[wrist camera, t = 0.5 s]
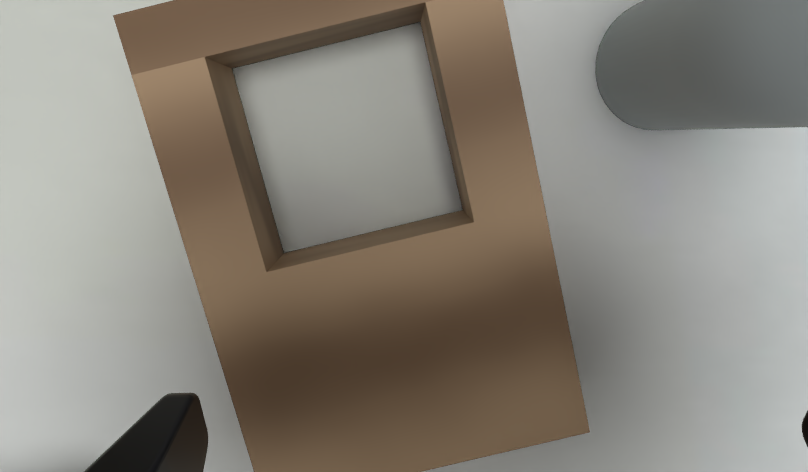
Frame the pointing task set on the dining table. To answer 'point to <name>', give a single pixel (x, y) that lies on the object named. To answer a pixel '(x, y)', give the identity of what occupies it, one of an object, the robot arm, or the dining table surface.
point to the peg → (707, 64)
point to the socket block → (364, 250)
